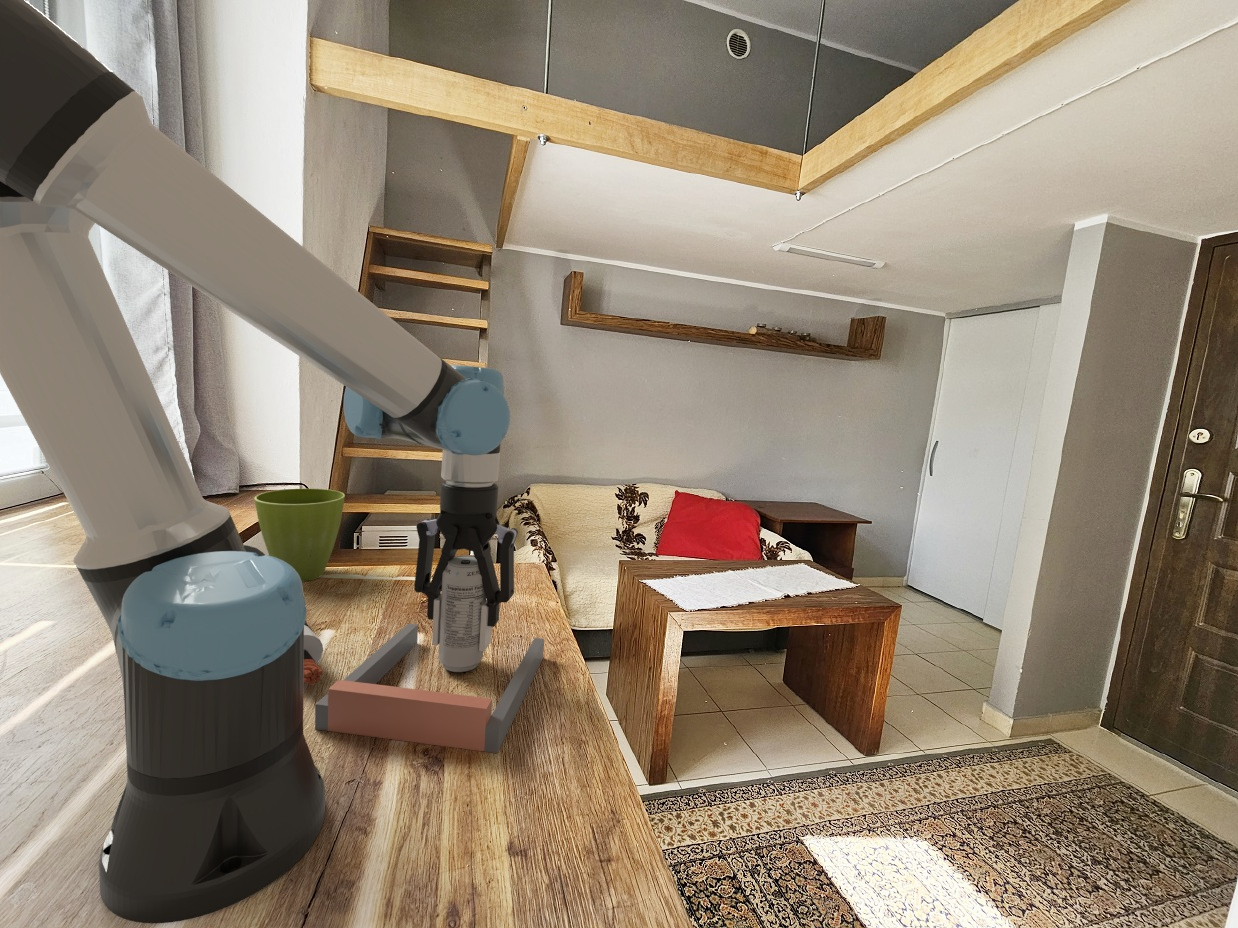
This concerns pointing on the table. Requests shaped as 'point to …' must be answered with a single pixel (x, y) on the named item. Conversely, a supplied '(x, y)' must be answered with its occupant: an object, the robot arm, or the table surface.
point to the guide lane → (421, 703)
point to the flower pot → (300, 527)
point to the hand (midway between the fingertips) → (461, 643)
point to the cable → (305, 645)
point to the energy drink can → (461, 614)
